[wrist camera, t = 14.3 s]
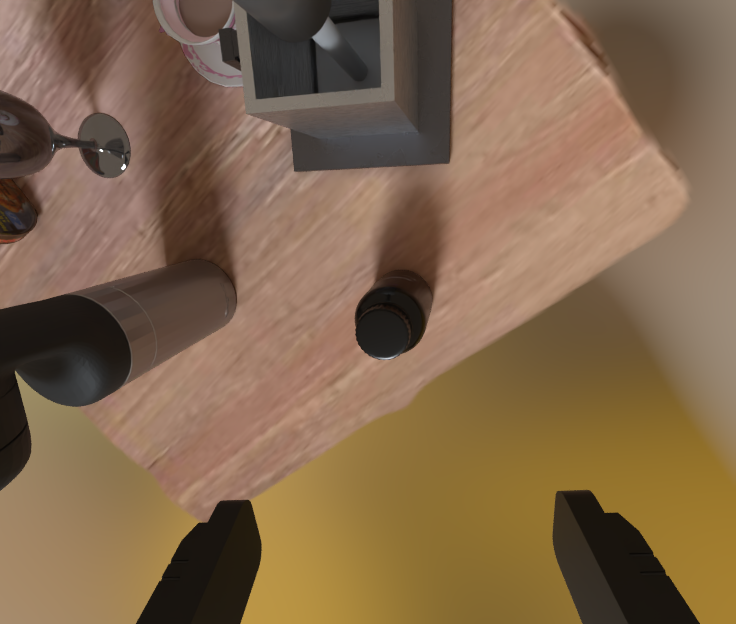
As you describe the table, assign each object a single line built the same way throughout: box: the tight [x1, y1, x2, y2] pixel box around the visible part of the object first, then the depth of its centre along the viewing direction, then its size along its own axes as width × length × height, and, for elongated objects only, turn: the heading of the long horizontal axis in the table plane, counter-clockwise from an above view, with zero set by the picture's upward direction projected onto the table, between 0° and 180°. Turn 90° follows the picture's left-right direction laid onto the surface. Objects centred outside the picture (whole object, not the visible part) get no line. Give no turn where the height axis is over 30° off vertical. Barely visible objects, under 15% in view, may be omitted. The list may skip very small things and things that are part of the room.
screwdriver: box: [233, 0, 381, 93], centre depth 25 cm, size 8×8×25 cm
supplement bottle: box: [355, 270, 432, 360], centre depth 40 cm, size 7×7×12 cm
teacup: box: [153, 0, 243, 87], centre depth 38 cm, size 12×12×6 cm
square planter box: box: [218, 0, 452, 172], centre depth 32 cm, size 16×16×16 cm
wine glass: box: [0, 90, 130, 180], centre depth 41 cm, size 8×8×15 cm
